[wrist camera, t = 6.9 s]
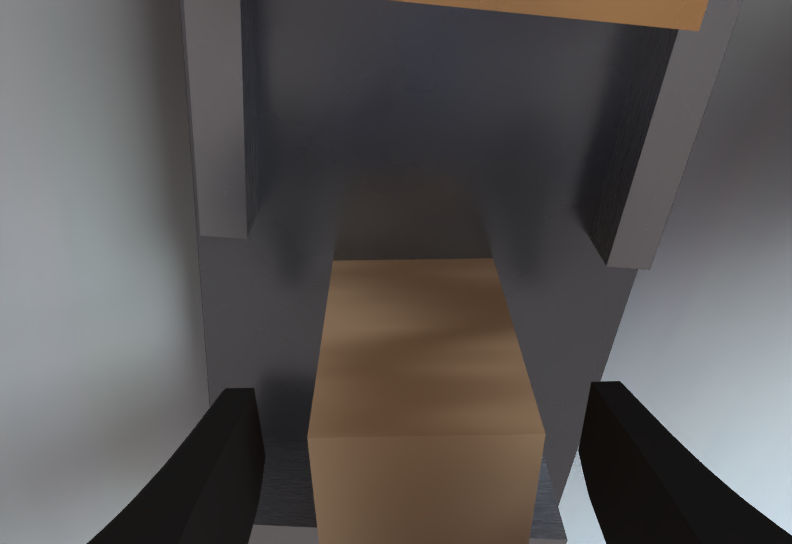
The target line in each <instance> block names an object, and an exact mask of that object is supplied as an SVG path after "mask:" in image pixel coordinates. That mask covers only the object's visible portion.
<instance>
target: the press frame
mask: <svg viewBox="0 0 792 544" xmlns="http://www.w3.org/2000/svg"><path fill="white" fill-rule="evenodd" d="M742 3H743V0H709V1H708V4H707V7H706V10H705V14H704V17H703V20H702V23H701V26H700V29H699V31H691V30H681V29H671V28H661V27H651V26H641V25H631V24H621V23H611V22H601V21H591V20H581V19H571V18H561V17H551V16H541V15H531V14H521V13H511V12H501V11H491V10H481V9H471V8H461V7H451V6H441V5H431V4H421V3H411V2H401V1H391V0H180V10H181V24H182V37H183V51H184V64H185V78H186V91H187V105H188V118H189V132H190V146H191V159H192V173H193V186H194V200H195V213H196V227H197V240H198V254H199V267H200V281H201V294H202V308H203V321H204V335H205V348H206V362H207V376H208V389H209V403H210V407H211V406H212V404H213V403H214V402H215V400H216V399H217V397H218V396H219V395H220V393H221V392H222V391H223V390H224V389H225V388H254V390H255V396H256V402H257V408H258V413H259V419H260V425H261V431H262V437H263V443H264V449H265V455H266V458H265V465H264V473H263V480H262V487H261V493H260V500H259V504H258V508H257V512H256V516H255V520H254V524H253V528H252V531H251V535H250V539H249V543H248V544H319V539H318V530H317V521H316V512H315V503H314V494H313V485H312V476H311V467H310V458H309V449H308V440H307V436H308V429H309V423H310V416H311V409H312V402H313V395H314V388H315V381H316V374H317V367H318V360H319V353H320V346H321V340H322V333H323V326H324V319H325V312H326V305H327V298H328V291H329V284H330V277H331V270H332V263H333V261H346V260H413V259H479V258H493V259H494V263H495V266H496V269H497V273H498V276H499V279H500V283H501V286H502V290H503V293H504V296H505V300H506V303H507V306H508V310H509V313H510V316H511V320H512V323H513V326H514V330H515V333H516V336H517V340H518V343H519V346H520V350H521V353H522V357H523V360H524V363H525V367H526V370H527V373H528V377H529V380H530V383H531V387H532V390H533V393H534V397H535V400H536V403H537V407H538V410H539V413H540V417H541V420H542V424H543V427H544V430H545V434H546V435H545V441H544V448H543V454H542V461H541V467H540V474H539V480H538V487H537V493H536V500H535V506H534V513H533V519H532V526H531V532H530V539H529V544H566V543H567V537H566V533H565V530H564V526H563V523H562V519H561V516H560V512H559V509H558V505H559V502H560V499H561V496H562V493H563V490H564V487H565V484H566V481H567V479H568V476H569V473H570V470H571V467H572V464H573V461H574V458H575V455H576V452H577V449H578V446H579V443H580V439H581V434H582V428H583V423H584V418H585V412H586V407H587V402H588V396H589V391H590V386H591V382H600V380H601V377H602V374H603V371H604V368H605V365H606V362H607V359H608V356H609V354H610V351H611V348H612V345H613V342H614V339H615V336H616V333H617V330H618V327H619V324H620V321H621V318H622V315H623V312H624V309H625V306H626V303H627V300H628V297H629V294H630V291H631V288H632V285H633V282H634V279H635V276H636V273H637V270H638V269H646V270H650V267H651V265H652V262H653V259H654V256H655V253H656V250H657V247H658V244H659V242H660V239H661V236H662V233H663V230H664V227H665V224H666V221H667V219H668V216H669V213H670V210H671V207H672V204H673V201H674V198H675V195H676V193H677V190H678V187H679V184H680V181H681V178H682V175H683V172H684V170H685V167H686V164H687V161H688V158H689V155H690V152H691V149H692V147H693V144H694V141H695V138H696V135H697V132H698V129H699V126H700V123H701V121H702V118H703V115H704V112H705V109H706V106H707V103H708V100H709V98H710V95H711V92H712V89H713V86H714V83H715V80H716V77H717V75H718V72H719V69H720V66H721V63H722V60H723V57H724V54H725V51H726V49H727V46H728V43H729V40H730V37H731V34H732V31H733V28H734V26H735V23H736V20H737V17H738V14H739V11H740V8H741V5H742Z"/></svg>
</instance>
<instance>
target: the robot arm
mask: <svg viewBox="0 0 792 544" xmlns="http://www.w3.org/2000/svg"><path fill="white" fill-rule="evenodd" d="M578 451H579V456H580V460H581V465H582V469H583V474H584V478H585V482H586V486H587V490H588V494H589V497H590V500H591V503H592V506H593V508H594V511H595V514H596V517H597V519H598V522H599V525H600V528H601V530H602V533H603V536H604V538H605V541H606V544H792V535H790V534H789V533H788V532H786V531H785V530H783V529H782V528H781V527H779V526H778V525H776V524H775V523H774V522H773V521H771V520H770V519H769V518H767V517H766V516H765V515H763V514H762V513H761V512H759V511H758V510H757V509H755V508H754V507H753V506H752V505H750V504H749V503H748V502H746V501H745V500H744V499H743V498H741V497H740V496H739V495H738V494H737V493H735V492H734V491H733V490H732V489H731V488H729V487H728V486H727V485H726V484H725V483H724V482H723V481H721V480H720V479H719V478H718V477H717V476H716V475H714V474H713V473H712V472H711V471H710V470H709V469H708V468H706V467H705V466H704V465H703V464H702V463H701V462H700V461H699V460H698V459H697V458H696V457H695V456H694V455H692V454H691V453H690V452H689V451H688V450H687V449H686V448H685V447H684V446H683V445H682V444H681V443H680V442H679V441H678V440H677V439H676V438H675V437H674V436H673V435H672V434H671V433H670V432H669V431H668V430H667V429H666V428H665V427H664V426H663V425H662V424H661V423H660V422H659V421H658V420H657V419H656V418H655V417H654V416H653V415H652V414H651V413H650V412H649V411H648V410H647V409H646V408H645V407H644V406H643V405H642V404H641V402H640V401H639V400H638V399H637V398H636V397H635V396H634V395H633V394H632V393H631V392H630V391H629V390H628V389H627V388H626V387H625V386H624V385H623V384H622V383H621V382H620V381H606V382H591V386H590V391H589V396H588V402H587V407H586V412H585V418H584V423H583V428H582V434H581V439H580V444H579V450H578ZM265 458H266V455H265V449H264V443H263V437H262V431H261V425H260V419H259V413H258V408H257V402H256V396H255V390H254V388H225V389H224V390H223V391H222V392H221V393H220V395H219V396H218V397H217V399H216V400H215V402H214V403H213V404H212V406H211V407H210V408H209V410H208V411H207V412H206V414H205V415H204V416H203V418H202V419H201V420H200V422H199V423H198V424H197V425H196V427H195V428H194V429H193V431H192V432H191V433H190V434H189V436H188V437H187V438H186V439H185V441H184V442H183V443H182V444H181V446H180V447H179V448H178V449H177V450H176V452H175V453H174V454H173V455H172V456H171V458H170V459H169V460H168V461H167V463H166V464H165V465H164V466H163V467H162V468H161V469H160V471H159V472H158V473H157V474H156V475H155V476H154V477H153V478H152V479H151V480H150V482H149V483H148V484H147V485H146V486H145V487H144V488H143V489H142V490H141V491H140V493H139V494H138V495H137V496H136V497H135V498H134V499H133V500H132V501H131V502H130V503H129V504H128V505H127V506H126V507H125V508H124V509H123V510H122V511H121V512H120V513H119V514H118V515H117V516H116V517H115V518H114V519H113V520H112V521H111V522H110V523H109V524H108V525H107V526H106V527H105V528H104V529H102V530H101V531H100V532H99V533H98V534H97V535H96V536H95V537H94V538H93V539H92V540H90V541H89V542H88V543H87V544H248V543H249V539H250V535H251V531H252V528H253V524H254V520H255V516H256V512H257V508H258V504H259V500H260V493H261V487H262V480H263V473H264V465H265Z"/></svg>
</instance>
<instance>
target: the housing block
mask: <svg viewBox="0 0 792 544" xmlns="http://www.w3.org/2000/svg"><path fill="white" fill-rule="evenodd" d="M545 435H546V434H545V430H544V427H543V424H542V420H541V417H540V413H539V410H538V407H537V403H536V400H535V397H534V393H533V390H532V387H531V383H530V380H529V377H528V373H527V370H526V367H525V363H524V360H523V357H522V353H521V350H520V346H519V343H518V340H517V336H516V333H515V330H514V326H513V323H512V320H511V316H510V313H509V310H508V306H507V303H506V300H505V296H504V293H503V290H502V286H501V283H500V279H499V276H498V273H497V269H496V266H495V263H494V259H493V258H479V259H413V260H346V261H333V263H332V270H331V277H330V284H329V291H328V298H327V305H326V312H325V319H324V326H323V333H322V340H321V346H320V353H319V360H318V367H317V374H316V381H315V388H314V395H313V402H312V409H311V416H310V423H309V429H308V436H307V440H308V449H309V458H310V467H311V476H312V485H313V494H314V503H315V512H316V521H317V530H318V539H319V544H529V539H530V532H531V526H532V519H533V513H534V506H535V500H536V493H537V487H538V480H539V474H540V467H541V461H542V454H543V448H544V441H545Z"/></svg>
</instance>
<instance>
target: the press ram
mask: <svg viewBox="0 0 792 544" xmlns="http://www.w3.org/2000/svg"><path fill="white" fill-rule="evenodd" d="M391 1H401V2H411V3H421V4H431V5H441V6H451V7H461V8H471V9H481V10H491V11H501V12H511V13H521V14H531V15H541V16H551V17H561V18H571V19H581V20H591V21H601V22H611V23H621V24H631V25H641V26H651V27H661V28H671V29H681V30H691V31H699V29H700V26H701V23H702V20H703V17H704V14H705V10H706V7H707V4H708V1H709V0H391Z"/></svg>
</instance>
